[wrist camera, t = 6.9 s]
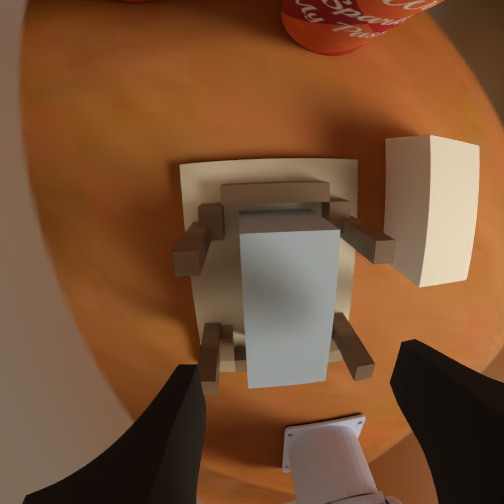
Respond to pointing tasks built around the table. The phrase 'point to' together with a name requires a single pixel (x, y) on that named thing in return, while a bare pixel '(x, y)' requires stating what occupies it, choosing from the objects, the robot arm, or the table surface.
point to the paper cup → (345, 21)
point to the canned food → (138, 1)
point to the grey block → (288, 294)
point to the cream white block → (431, 206)
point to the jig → (229, 257)
